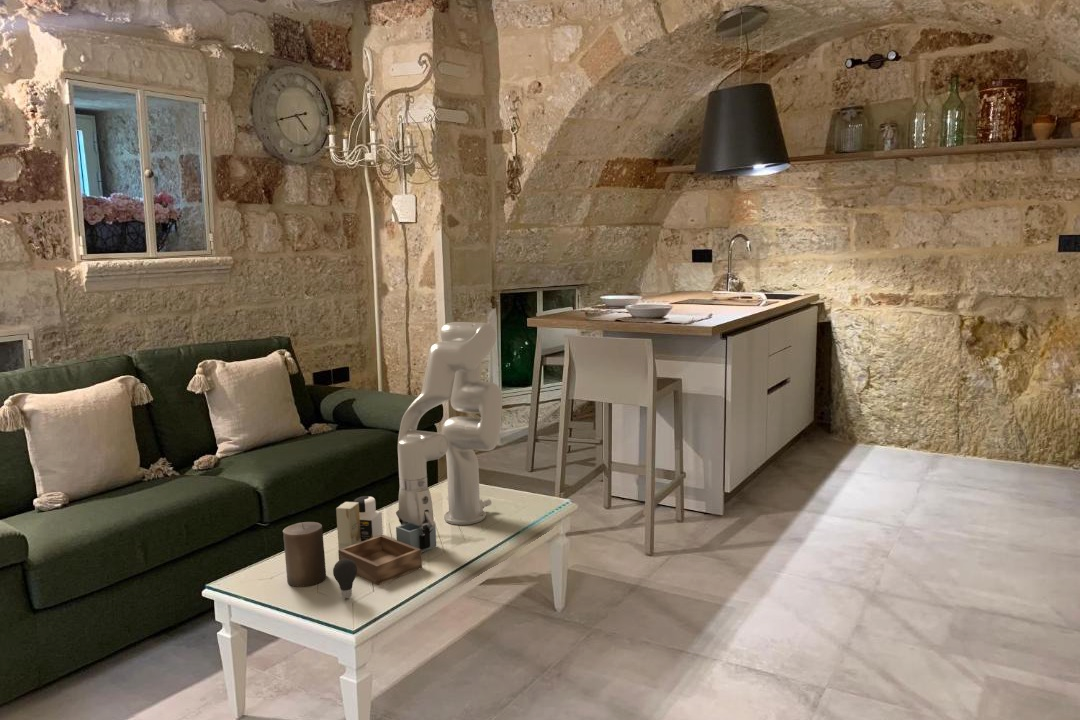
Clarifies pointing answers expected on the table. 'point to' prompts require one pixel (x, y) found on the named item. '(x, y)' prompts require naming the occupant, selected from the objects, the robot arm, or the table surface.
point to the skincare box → (348, 524)
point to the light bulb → (345, 576)
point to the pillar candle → (304, 554)
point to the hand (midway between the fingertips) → (416, 544)
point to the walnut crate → (382, 558)
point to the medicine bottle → (369, 518)
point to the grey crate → (414, 535)
